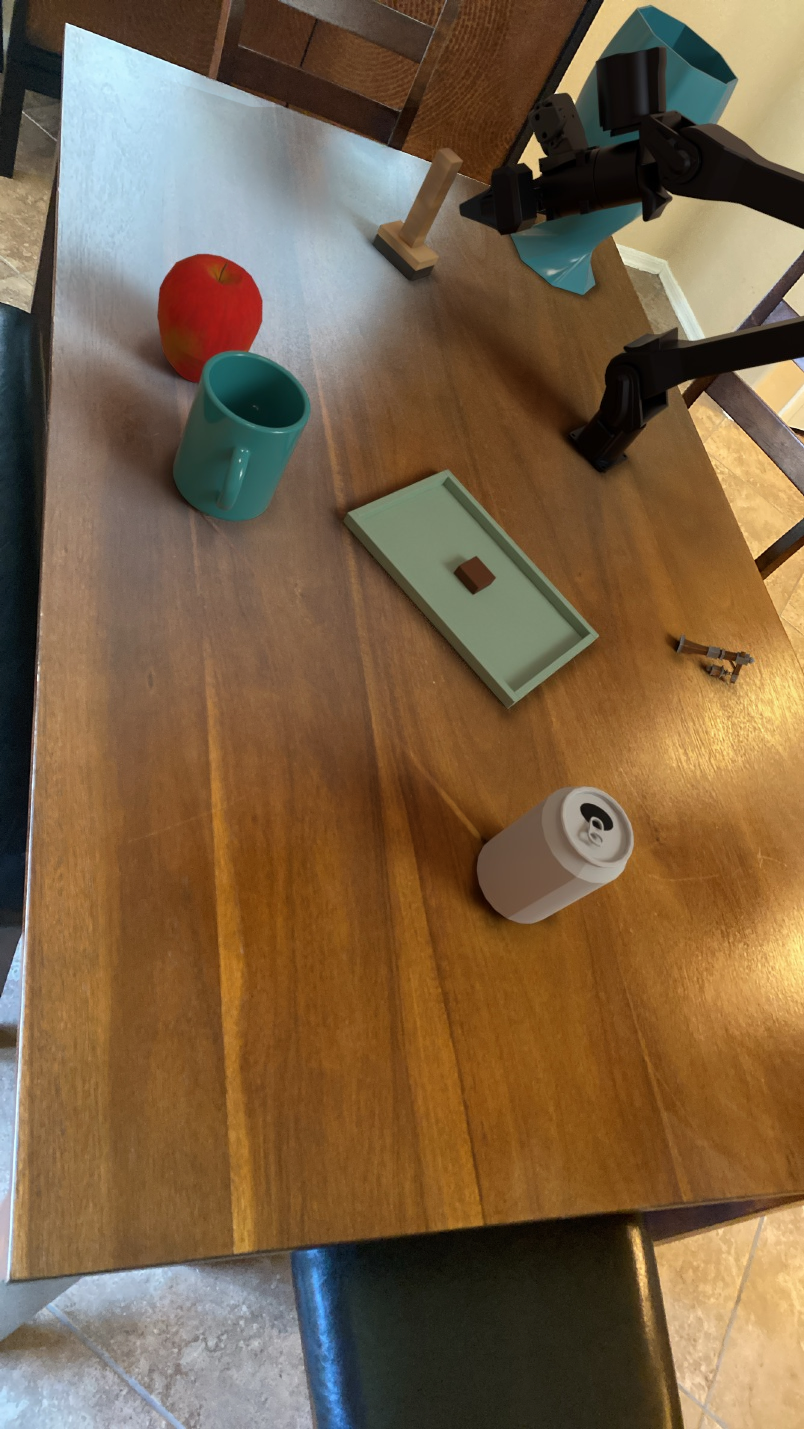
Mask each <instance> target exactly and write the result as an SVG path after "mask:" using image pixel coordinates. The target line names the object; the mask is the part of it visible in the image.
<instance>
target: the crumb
mask: <svg viewBox="0 0 804 1429" xmlns="http://www.w3.org/2000/svg"><path fill="white" fill-rule="evenodd" d="M454 574H455V575H456V576H457V577H458V579H459V580H460V581H461V582H462V583H463V584H464V585H465V586H466V587H467V589H468V590H469V591H470V592H471V593H472V594H473V595H474V594H476V593H477V592H479V591H481V590H482V589H484V588H486V587H487V586H489V585H491V583H492V582H493V581H494V580H495V579H496V577H495V576H494V575H493V573H492V572H491V571H490V570H489V569H488V568H487V567H486V566H485V565H484V563H483V562H482V561H481V560H480V559H479V558H478V557H477V556H475V557H473V558H472V559H470V560H468V561H466V562H464V563H463V564H461V565H459V566H458V567H457V569H456V570H455V571H454Z"/></svg>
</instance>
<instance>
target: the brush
mask: <svg viewBox="0 0 804 1429" xmlns="http://www.w3.org/2000/svg"><path fill="white" fill-rule="evenodd" d="M463 163H464V160H463V159H462V158H461V157H459V156H458V155H457V154H456V153H455V152H454V151H453V150H452V149H451V148H450V147H445V148H440V149H437V151H436V153H435V155H434V158H433V160H432V162H431V164H430V166H429V168H428V170H427V173H426V175H425V177H424V179H423V182H422V184H421V186H420V188H419V190H418V192H417V195H416V196H415V199H414V201H413V203H412V205H411V207H410V209H409V212H408V213H407V216H406V218H405V220H404V221H403V220H401V219H399V220H394V221H391V222H390V221H389V222H386V223H383V224H380V225H379V228H378V230H377V232H376V234H375V236H374V239H373V241H372V245H373V246H374V247H375V249H376V250H378V252H380V254H382V255H383V256H384V257H385V258H386V259H387V260H388V261H389V263H391V264H392V265H393V266H394V267H395V268H396V269H397V270H398V271H399V272H400V273H401V274H402V275H404V276H405V277H406V278H407V279H408V280H409V281H410V282H412V281H415V280H419V279H421V278H424V277H428V276H430V275H431V273H432V272H433V269H434V267H435V265H436V264H437V261H438V260H439V258H440V256H439V255H438V254H437V253H436V252H435V251H434V250H433V249H432V248H431V247H430V246H429V245H427V243H426V242H425V241H426V238H427V237H428V234H429V232H430V230H431V228H432V226H433V224H434V222H435V220H436V217H438V216H437V215H438V214H439V211H440V210H441V207H442V206H443V204H444V202H445V199H446V198H447V195H448V194H449V191H450V190H451V187H452V185H453V183H454V181H455V179H456V177H457V175H458V173H459V171H460V168H462V165H463Z"/></svg>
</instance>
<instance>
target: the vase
mask: <svg viewBox="0 0 804 1429" xmlns="http://www.w3.org/2000/svg"><path fill="white" fill-rule="evenodd" d="M657 46H665V47H666V49H667V64H666V71H665V80H666V110H667V111H672V110H676V111H678V112H680V113H681V114H683V115H684V116H686V117H687V118H689V119H690V120H692V121H693V122H695V123H696V124H698V125H701V124H707V123H711V124H718V123H719V121H720V119H721V118H722V115H723V114H724V112H725V110H726V108H727V106H728V104H729V102H730V100H731V98H732V95H733V93H734V91H735V90H736V87H737V84H738V82H739V78H738V76H737V75H736V74H735V72H734V71H733V69H732V68H731V66H730V65H729V63H728V62H727V61H726V59H725V58H724V56H723V54H721V52H719V51H718V50H717V49H715V48H714V47H713V46H712V45H711V44H710V43H709V42H707V40H705V38H703V37H702V36H700V35H699V33H697V32H696V31H695V30H693V29H692V28H691V27H690V26H689V25H688V24H686V23H685V22H683V21H682V20H680V19H678V18H676V17H674V16H672V15H671V14H669V13H667V12H665V11H663V10H661V9H660V8H658V7H656V6H655V5H652V4H648V5H644V6H640V7H636V8H635V9H634V10H633V12H632V13H631V14H630V15H629V17H628V18H627V19H626V20H625V21H624V23H622V25H620V27H619V29H618V30H617V31H616V33H615V34H614V36H613V37H612V38H611V39H610V40H609V42H608V43H607V45H606V47H605V48H604V50H602V53H601V54H600V56H599V57H598V58H597V60H599V59H602V58H605V57H608V56H611V55H614V54H618V53H630V52H636V51H641V50H646V49H650V48H653V47H657ZM574 104H575V107H576V109H577V112H578V115H579V117H580V120H581V122H582V125H583V128H584V131H585V136H586V139H587V143H588V146H589V147H593V146H597V145H600V148H602V147H606V146H610V145H615V144H619V143H623V142H627V141H632V140H636V139H639V131H637V132H633V133H629V134H624V135H620V136H615V137H610V131H611V130H609V131H605V132H603V127H600V125H599V110H598V95H597V79H596V64H594V65H593V67H592V69H591V70H590V73H589V74H588V76H587V78H586V80H585V81H584V84H583V85H582V88H581V89H580V92H579V94H578V96H577V98H576V101H575V102H574ZM665 112H666V111H665ZM667 193H669V192H668V191H667ZM641 216H642V202H640V203H635V204H630V205H625V206H619V207H614V208H609V209H604V210H598V211H595V212H592V213H589V214H583V215H580V214H577V215H572V216H567V217H563V218H559V219H556V220H552V221H546V219H545V220H544V221H541V222H537V223H534V224H533V225H532V227H531V228H530V229H527V230H524V231H520V232H517V233H513V234H510V237H511V239H512V241H513V244H514V246H515V249H516V250H517V252H518V255H519V258H520V260H521V261H522V262H523V263H524V264H526V265H527V266H529V267H530V268H531V269H532V270H533V271H534V272H536V273H537V275H539V276H540V277H542V279H544V280H545V281H546V282H547V283H548V284H549V285H550V286H552V287H556V288H560V289H561V290H562V289H563V290H565V291H568V292H572V293H575V294H578V295H581V296H585V294H587V292H588V291H589V290H591V289H592V288H593V287H595V286H596V281H595V276H594V273H593V268H592V263H591V260H592V255H593V251H594V250H595V249H596V248H597V247H598V246H599V245H600V244H602V243H604V242H605V241H606V240H607V239H609V238H610V237H611V236H613V235H615V234H616V233H618V232H620V231H621V230H622V229H624V228H626V227H627V226H628V225H630V224H631V223H633V222H635V221H636V220H637V219H638V218H640V217H641Z"/></svg>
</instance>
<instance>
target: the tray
mask: <svg viewBox="0 0 804 1429" xmlns="http://www.w3.org/2000/svg"><path fill="white" fill-rule="evenodd" d="M342 523H343V524H344V525H345V526H346V527H347V528H348V529H349V531H350V532H352V534H353V535H354V536H355V537H356V538H357V539H358V541H359V542H360V544H362V546H364V547H365V549H366V550H367V551H368V552H369V553H370V554H371V555H372V556H373V558H374V559H375V560H376V562H378V563H379V564H380V566H381V567H382V568H383V570H385V571H386V573H387V574H388V575H389V576H390V578H392V579H393V581H394V582H395V583H396V584H397V585H398V586H399V587H400V588H401V590H402V591H403V592H404V593H405V594H406V595H407V596H408V598H409V599H410V600H411V601H412V602H413V603H414V604H415V606H416V607H417V608H418V609H419V610H420V611H421V613H423V615H424V616H425V617H426V618H427V619H428V620H429V621H430V622H431V624H432V625H433V626H434V627H435V629H436V630H437V631H438V632H439V633H440V634H441V635H442V636H443V637H444V638H445V639H446V641H447V642H448V644H450V645H451V647H452V648H453V649H454V650H455V651H456V652H457V653H458V654H459V656H460V657H461V658H462V659H463V660H464V662H465V663H466V664H467V665H469V667H470V668H471V669H472V671H474V673H476V675H477V677H478V678H480V680H482V682H483V683H484V684H485V685H486V686H487V687H488V688H489V690H490V691H491V692H492V693H493V694H494V695H495V697H497V699H498V700H499V701H500V702H501V704H503V705H504V707H505V708H506V709H507V710H509V709H510V708H511V707H512V706H514V705H516V704H517V703H518V702H519V701H520V700H521V699H523V698H524V697H525V696H526V695H528V694H529V693H530V692H531V691H533V690H534V689H535V688H536V687H538V686H539V685H541V684H542V683H543V682H544V681H546V680H547V679H548V678H549V677H551V676H552V675H553V674H554V673H556V672H557V671H558V670H560V669H561V668H562V667H563V666H565V665H566V664H567V663H568V662H570V661H571V660H572V659H573V658H574V657H576V656H578V655H579V654H580V653H581V652H583V651H584V650H585V649H587V647H588V646H590V645H591V644H592V643H593V642H594V641H596V640H597V639H598V638H599V637H600V635H599V633H598V632H597V631H596V630H595V629H594V628H593V627H592V626H591V625H590V624H589V622H588V621H587V620H586V619H585V618H584V617H583V616H582V614H580V612H578V610H577V609H576V608H575V607H574V606H573V605H572V604H571V603H570V602H569V601H568V600H567V599H566V597H565V596H564V595H563V594H562V592H560V591H559V590H558V588H557V587H556V586H555V584H553V583H552V582H551V581H550V580H549V578H548V577H547V576H546V575H545V574H544V573H543V572H542V571H541V570H540V568H538V566H537V565H536V564H535V563H534V562H533V561H532V560H531V559H530V558H529V557H528V556H527V554H526V553H525V552H524V551H523V550H522V548H521V547H520V546H519V545H518V544H517V543H516V542H515V541H514V540H513V539H512V538H511V536H510V535H509V534H508V533H507V532H506V531H505V530H504V529H503V528H502V527H501V525H500V524H498V522H497V521H496V520H495V519H494V518H493V517H492V515H490V514H489V513H488V512H487V510H486V509H485V507H483V506H482V505H481V503H479V502H478V500H477V499H476V498H475V496H473V495H472V494H471V493H470V492H469V491H468V489H467V488H466V487H465V486H464V485H463V484H462V483H461V482H460V481H459V480H458V478H457V477H456V476H455V475H454V474H453V473H452V472H451V471H450V470H449V468H446V469H444V470H442V471H440V472H437V473H435V474H432V475H431V476H428V477H426V478H424V479H421V480H419V481H417V482H414V483H412V484H410V485H407V486H405V487H403V488H401V489H398V490H396V491H394V492H392V493H390V494H387V495H385V496H381V497H380V498H378V499H376V500H373V501H371V502H369V503H366V504H364V505H362V506H360V507H357V508H354V509H352V510H351V511H348V512H346V514H345V517H344V519H343V520H342ZM475 556H477V557H478V558H479V559H480V560H481V561H482V562H483V563H484V565H485V566H486V567H487V568H488V569H489V570H490V571H491V572H492V573H493V575H494V576H495V577H496V579H495V580H494V581H493V582H492V583H491V585H489V586H487V587H486V588H484V589H482V590H481V591H479V592H477V593H476V594H474V595H473V594H472V593H471V592H470V591H469V590H468V589H467V587H466V586H465V585H464V584H463V583H462V582H461V581H460V580H459V579H458V577H457V576H456V575H455V574H454V571H455V570H456V569H457V567H458V566H459V565H461V564H463V563H464V562H466V561H468V560H470V559H472V558H473V557H475Z"/></svg>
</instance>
